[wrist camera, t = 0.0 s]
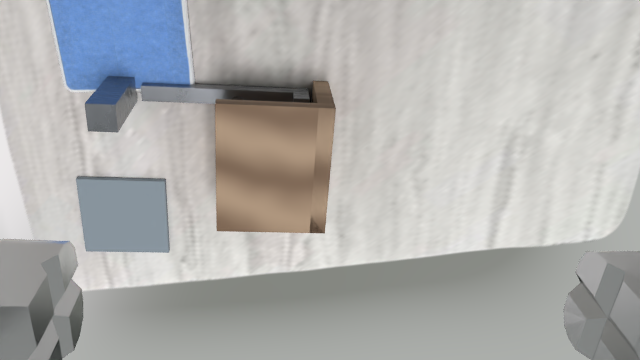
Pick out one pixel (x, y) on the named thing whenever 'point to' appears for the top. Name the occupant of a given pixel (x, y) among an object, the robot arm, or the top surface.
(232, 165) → the walnut shelf
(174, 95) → the grey u-shaped bracket
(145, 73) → the blue flat slab
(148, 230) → the slate mat
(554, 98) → the top surface
